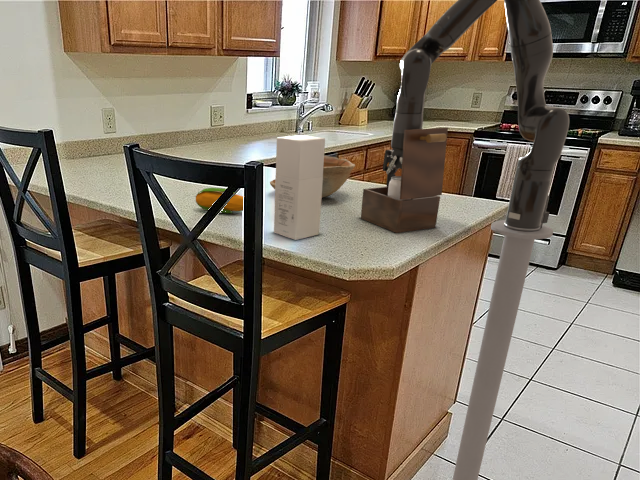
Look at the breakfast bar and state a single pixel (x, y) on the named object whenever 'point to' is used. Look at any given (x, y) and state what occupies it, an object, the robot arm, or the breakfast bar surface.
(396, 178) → the can
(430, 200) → the chest
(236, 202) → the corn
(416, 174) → the chest lid
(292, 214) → the tall white carton
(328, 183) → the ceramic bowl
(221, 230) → the breakfast bar surface
